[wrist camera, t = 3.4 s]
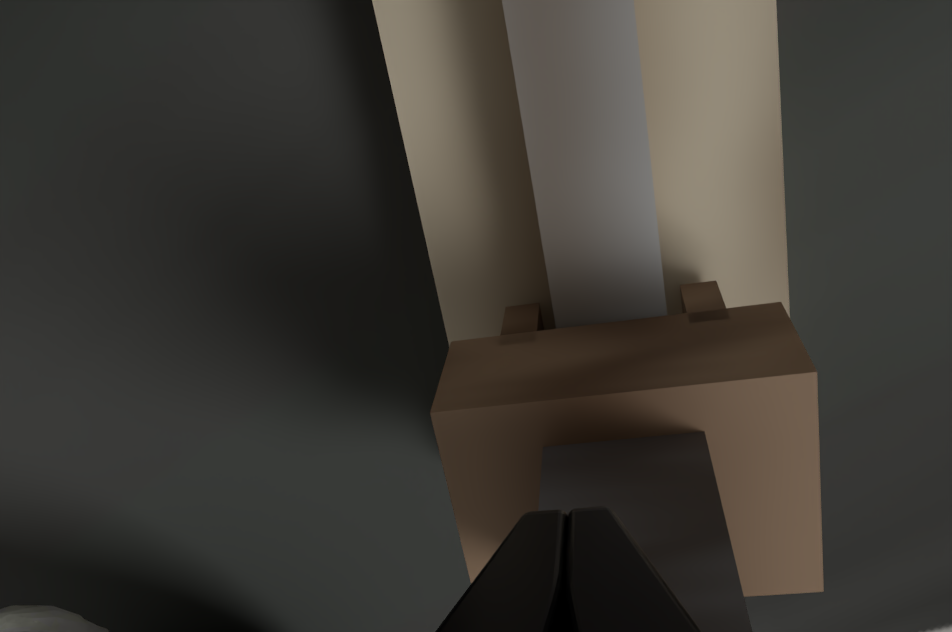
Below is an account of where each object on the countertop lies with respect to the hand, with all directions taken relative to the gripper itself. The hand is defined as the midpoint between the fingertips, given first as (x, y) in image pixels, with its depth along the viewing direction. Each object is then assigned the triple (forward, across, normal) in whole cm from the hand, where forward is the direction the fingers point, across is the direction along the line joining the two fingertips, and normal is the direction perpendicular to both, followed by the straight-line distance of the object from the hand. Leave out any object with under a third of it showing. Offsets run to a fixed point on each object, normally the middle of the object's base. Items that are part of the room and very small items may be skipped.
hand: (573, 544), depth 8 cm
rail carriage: (+12, -1, +5) cm, 13 cm away
